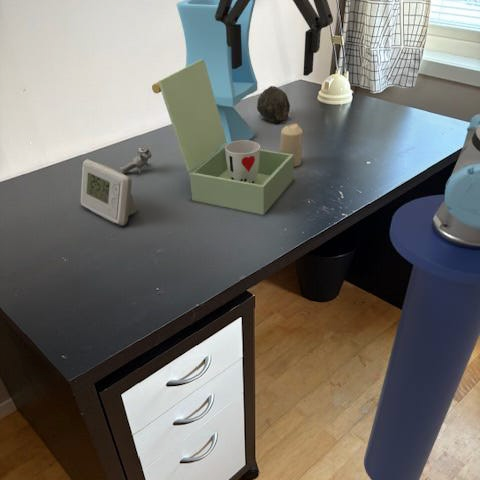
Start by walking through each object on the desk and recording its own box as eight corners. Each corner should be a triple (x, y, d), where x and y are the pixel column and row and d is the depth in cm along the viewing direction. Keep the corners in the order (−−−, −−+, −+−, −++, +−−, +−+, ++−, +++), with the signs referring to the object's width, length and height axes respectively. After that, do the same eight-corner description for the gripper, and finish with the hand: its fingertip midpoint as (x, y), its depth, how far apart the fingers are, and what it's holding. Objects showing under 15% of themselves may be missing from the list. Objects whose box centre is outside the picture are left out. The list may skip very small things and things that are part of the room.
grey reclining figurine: (121, 166, 130) (149, 150, 130) (131, 186, 130) (160, 169, 130) (111, 155, 120) (142, 138, 120) (123, 176, 120) (154, 159, 120)
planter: (234, 155, 133) (228, 6, 109) (186, 147, 138) (171, 4, 115) (257, 135, 143) (256, -4, 120) (212, 129, 148) (202, -6, 125)
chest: (292, 180, 120) (293, 154, 115) (263, 215, 107) (263, 187, 103) (226, 169, 126) (225, 143, 122) (192, 200, 114) (189, 173, 109)
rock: (276, 124, 147) (275, 89, 141) (251, 121, 154) (250, 87, 149) (298, 120, 152) (298, 85, 147) (273, 117, 160) (273, 84, 154)
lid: (204, 58, 110) (177, 65, 114) (160, 80, 98) (132, 87, 102) (226, 141, 121) (201, 145, 125) (190, 171, 109) (163, 174, 113)
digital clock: (79, 206, 113) (67, 163, 106) (114, 194, 117) (104, 152, 110) (109, 233, 104) (97, 188, 96) (145, 220, 107) (137, 175, 100)
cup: (224, 193, 114) (221, 153, 107) (230, 179, 120) (228, 139, 113) (257, 195, 113) (257, 154, 106) (262, 180, 119) (262, 140, 112)
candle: (292, 157, 130) (293, 119, 124) (305, 163, 127) (307, 125, 120) (276, 162, 128) (276, 124, 122) (288, 169, 125) (290, 130, 118)
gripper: (363, -91, 68) (346, 70, 82) (210, -87, 77) (218, 59, 91) (348, -89, 63) (333, 82, 78) (187, -84, 72) (199, 69, 86)
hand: (271, 70), depth 84 cm, fingers open, 13 cm apart
